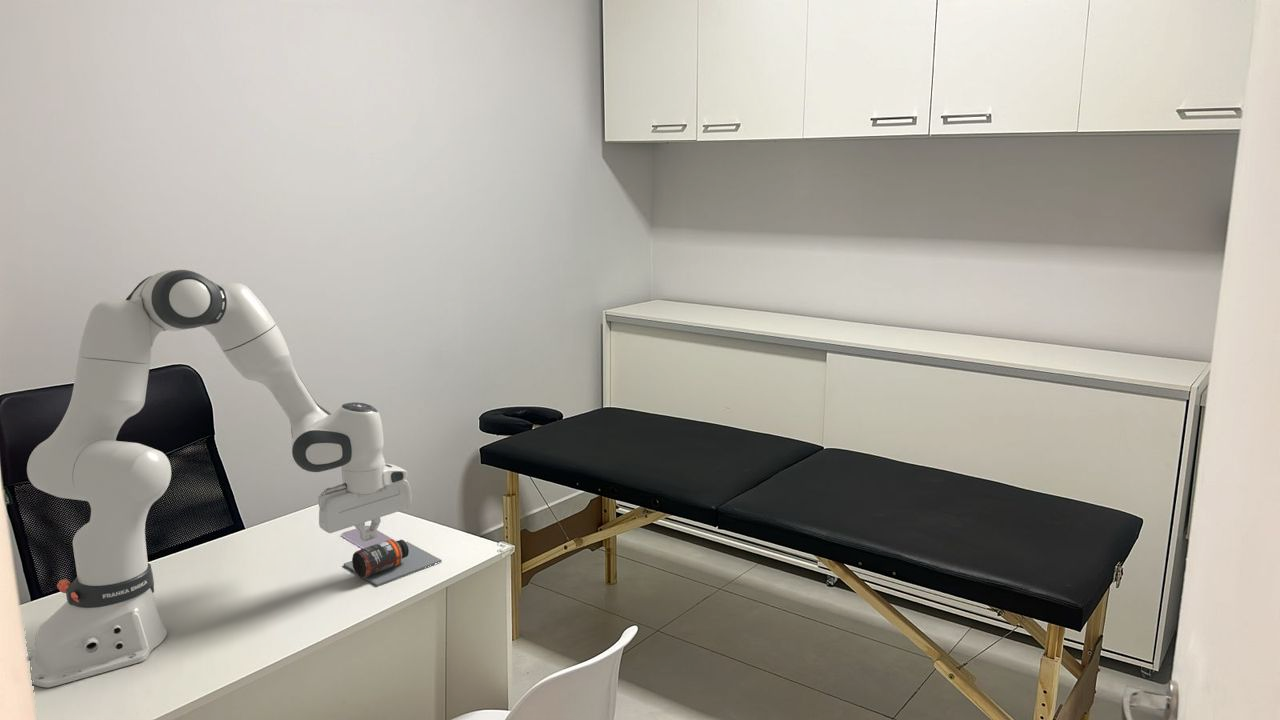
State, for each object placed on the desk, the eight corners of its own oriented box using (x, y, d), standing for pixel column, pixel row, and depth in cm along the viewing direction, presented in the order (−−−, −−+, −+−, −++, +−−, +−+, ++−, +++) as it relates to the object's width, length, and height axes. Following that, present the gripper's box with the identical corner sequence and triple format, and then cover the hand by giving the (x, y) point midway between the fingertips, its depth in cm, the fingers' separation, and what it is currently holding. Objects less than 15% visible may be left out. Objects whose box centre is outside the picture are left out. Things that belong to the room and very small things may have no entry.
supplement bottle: (355, 579, 188) (400, 562, 197) (368, 578, 184) (414, 560, 193) (348, 552, 189) (393, 536, 197) (361, 550, 185) (407, 534, 193)
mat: (377, 586, 185) (377, 584, 184) (343, 565, 194) (343, 563, 194) (441, 562, 196) (441, 560, 196) (407, 543, 205) (407, 541, 205)
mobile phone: (368, 523, 215) (401, 542, 205) (368, 527, 215) (401, 546, 205) (339, 532, 209) (371, 552, 199) (339, 536, 210) (371, 556, 200)
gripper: (325, 495, 177) (330, 558, 180) (413, 469, 191) (417, 529, 194) (310, 487, 181) (315, 549, 184) (398, 462, 195) (401, 521, 199)
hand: (368, 538), depth 189 cm, fingers closed
